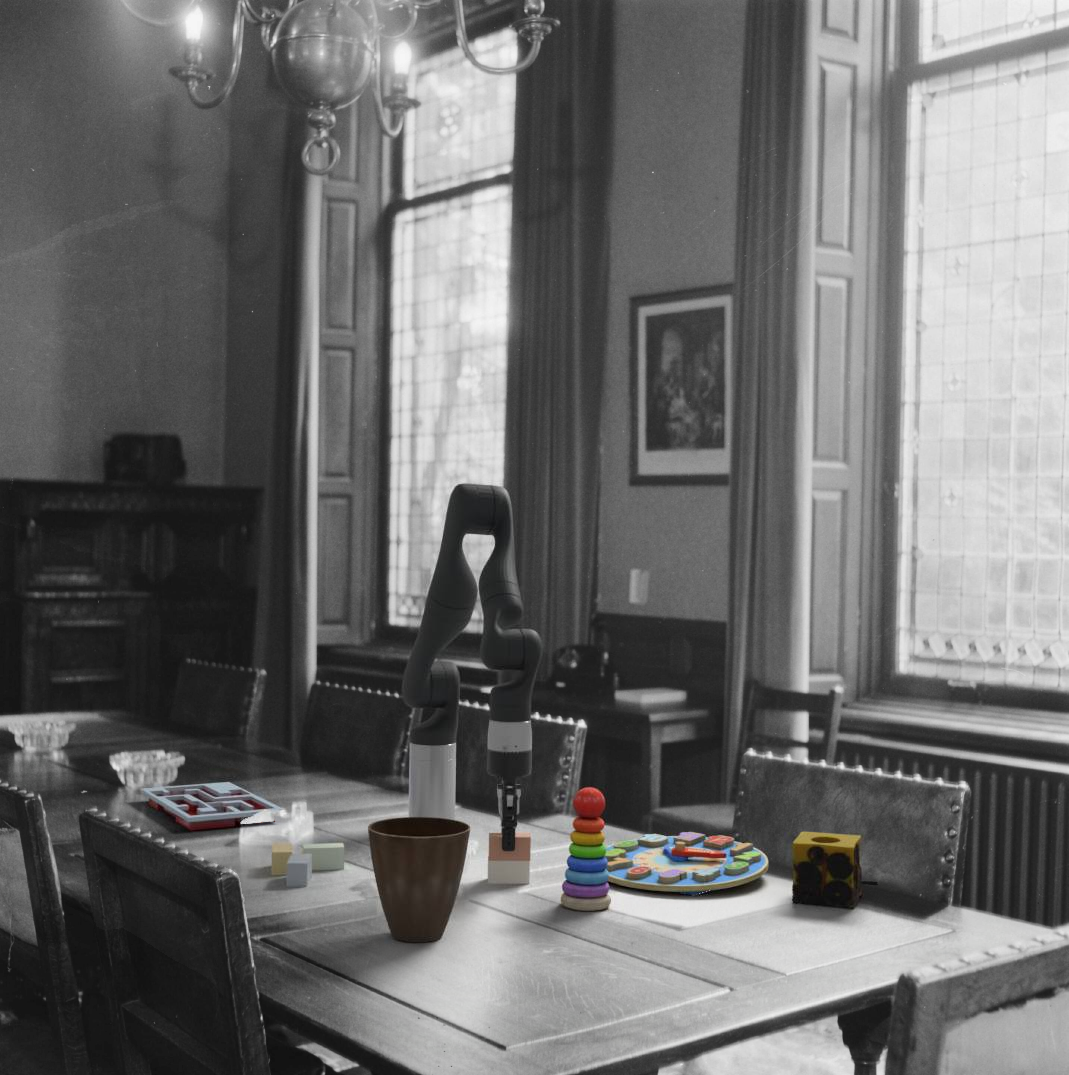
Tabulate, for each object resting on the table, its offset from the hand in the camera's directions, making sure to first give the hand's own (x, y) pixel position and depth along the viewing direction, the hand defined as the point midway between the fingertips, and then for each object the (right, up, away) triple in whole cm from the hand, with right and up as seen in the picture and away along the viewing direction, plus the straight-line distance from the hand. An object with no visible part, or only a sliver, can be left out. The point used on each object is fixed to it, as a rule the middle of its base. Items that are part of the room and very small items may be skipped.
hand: (508, 847), depth 240 cm
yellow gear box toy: (+52, -7, -9) cm, 53 cm away
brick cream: (0, -6, 0) cm, 6 cm away
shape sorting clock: (+30, -7, +6) cm, 31 cm away
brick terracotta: (0, -2, 0) cm, 2 cm away
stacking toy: (+13, -6, -15) cm, 21 cm away
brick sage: (-32, -5, +7) cm, 34 cm away
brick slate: (-35, -5, -3) cm, 36 cm away
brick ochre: (-39, -5, +5) cm, 40 cm away
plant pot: (-13, -6, -34) cm, 36 cm away
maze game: (-63, -5, +55) cm, 84 cm away
